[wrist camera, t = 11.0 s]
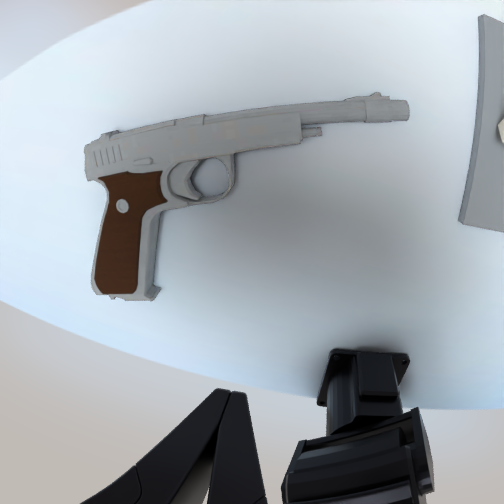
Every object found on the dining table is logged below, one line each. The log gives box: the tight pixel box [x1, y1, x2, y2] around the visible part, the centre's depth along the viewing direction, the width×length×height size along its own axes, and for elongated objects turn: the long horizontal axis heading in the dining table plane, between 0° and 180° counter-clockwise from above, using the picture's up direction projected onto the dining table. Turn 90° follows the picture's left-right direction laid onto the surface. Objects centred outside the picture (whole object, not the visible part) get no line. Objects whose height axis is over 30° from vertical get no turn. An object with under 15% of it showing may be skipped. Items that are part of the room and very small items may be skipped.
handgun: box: [84, 92, 409, 301], centre depth 19 cm, size 2×23×12 cm
